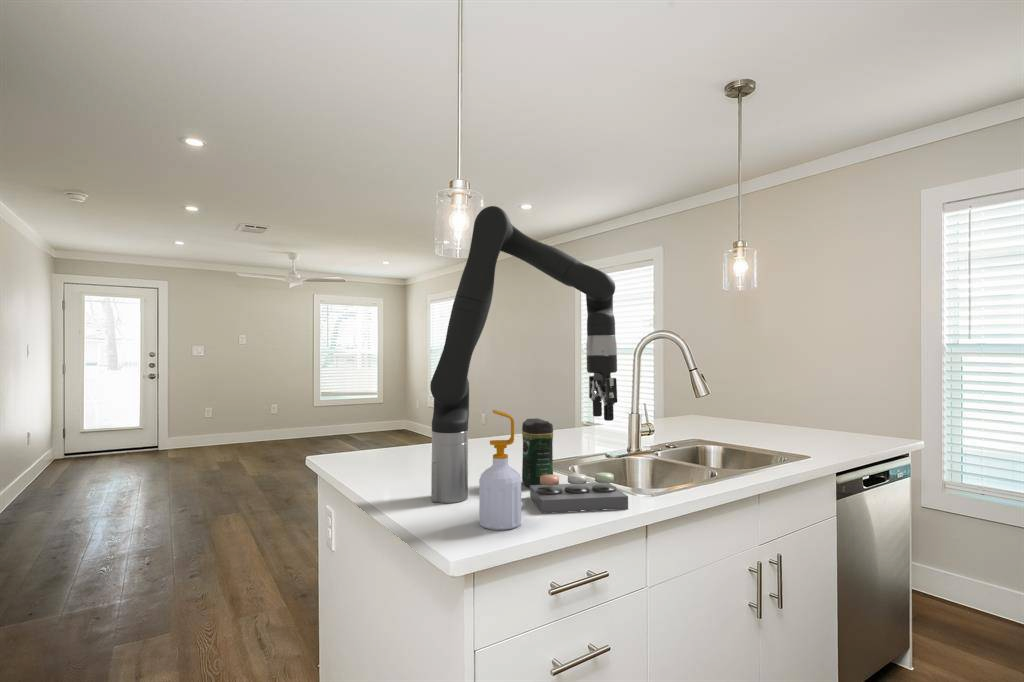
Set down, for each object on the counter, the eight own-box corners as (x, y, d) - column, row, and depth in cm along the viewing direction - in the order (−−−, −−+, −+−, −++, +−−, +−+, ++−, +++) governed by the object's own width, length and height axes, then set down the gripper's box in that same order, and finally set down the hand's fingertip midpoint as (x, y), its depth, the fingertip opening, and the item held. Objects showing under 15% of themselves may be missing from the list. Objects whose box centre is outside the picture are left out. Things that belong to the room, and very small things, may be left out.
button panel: (541, 513, 122) (541, 498, 122) (530, 497, 135) (530, 483, 136) (628, 509, 125) (628, 494, 125) (608, 493, 139) (608, 480, 139)
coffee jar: (557, 488, 145) (557, 420, 145) (530, 490, 142) (530, 421, 143) (544, 480, 154) (544, 416, 154) (518, 482, 151) (518, 417, 152)
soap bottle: (478, 518, 118) (479, 408, 119) (519, 517, 119) (519, 408, 120) (479, 531, 109) (479, 412, 110) (523, 530, 110) (523, 412, 111)
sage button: (598, 483, 129) (598, 477, 129) (592, 479, 133) (592, 472, 133) (616, 482, 130) (616, 476, 130) (609, 478, 134) (609, 472, 134)
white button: (570, 484, 128) (570, 478, 128) (565, 480, 132) (565, 473, 132) (588, 483, 128) (588, 477, 128) (583, 479, 133) (583, 473, 133)
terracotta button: (542, 485, 127) (542, 479, 127) (538, 481, 131) (538, 474, 131) (561, 485, 127) (560, 478, 127) (556, 480, 132) (556, 474, 132)
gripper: (579, 354, 139) (580, 415, 138) (596, 353, 125) (597, 422, 124) (606, 353, 140) (607, 414, 140) (626, 353, 126) (627, 421, 126)
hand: (602, 418), depth 132 cm, fingers open, 8 cm apart
